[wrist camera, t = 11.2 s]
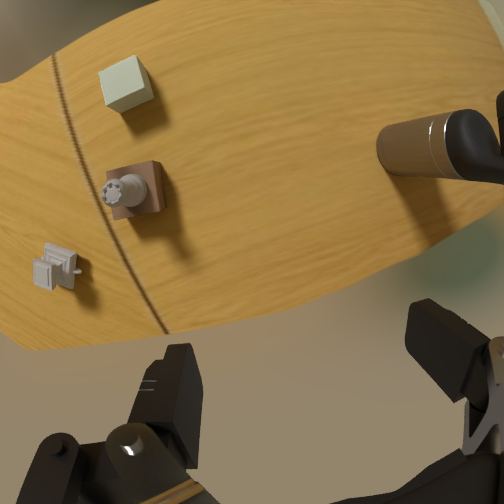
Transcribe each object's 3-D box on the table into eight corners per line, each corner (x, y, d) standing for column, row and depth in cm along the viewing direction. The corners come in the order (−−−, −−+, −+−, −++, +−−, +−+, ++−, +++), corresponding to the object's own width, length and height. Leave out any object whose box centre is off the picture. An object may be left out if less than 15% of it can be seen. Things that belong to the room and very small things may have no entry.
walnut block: (160, 162, 39) (152, 160, 34) (166, 207, 41) (159, 211, 36) (118, 171, 39) (105, 171, 34) (125, 215, 40) (113, 220, 36)
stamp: (46, 271, 41) (22, 287, 33) (49, 236, 40) (22, 248, 32) (85, 285, 43) (63, 305, 34) (89, 250, 41) (65, 265, 33)
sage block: (145, 68, 35) (135, 54, 29) (154, 98, 36) (144, 87, 31) (112, 83, 35) (98, 72, 29) (120, 113, 36) (105, 105, 31)
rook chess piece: (135, 212, 36) (114, 222, 28) (112, 193, 35) (86, 198, 27) (154, 186, 35) (137, 188, 27) (130, 167, 34) (108, 165, 26)
